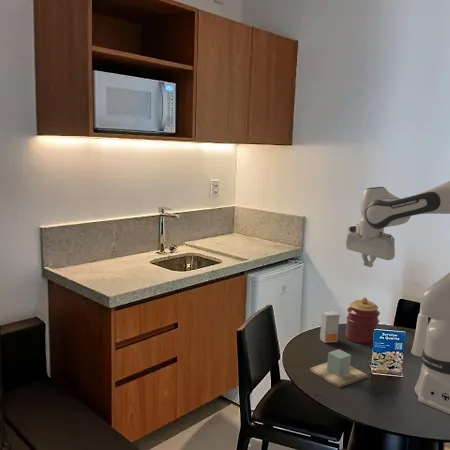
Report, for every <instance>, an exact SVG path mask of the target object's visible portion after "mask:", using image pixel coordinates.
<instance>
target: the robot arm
mask: <svg viewBox="0 0 450 450" xmlns="http://www.w3.org/2000/svg"><path fill="white" fill-rule="evenodd" d="M427 214H429V215H430V214H431V215H432V214H435V215H436V214H439V215H445V214H446V215H450V180H449V181H447V182H444V183H441V184H440V185H438V186H435V187H432V188H430V189H427V190H426V191H423V192H420V193H418V194H415V195H410V196H406V197H403V198H401V197H397V196H396V195H394V194H393V193H392V192H391V193H390V192H389V191H388V189H387V188H386V187H384V186H376V187H373V186H372V187H368V188H366V189H364V190H363V193H362V195H361V202H360V219H359V222H358V224H353V225H349V226H348V227H347V231H348V232H347V235H346V239H345V247H346V249H347V250H348V251H351V252H355V253H359V254H361V258H362V260H363V266H365V267H367V268H372V267H373V265H374V262H375V261H376V259H381V260H385V261H391V260H393V259H395V256H396V255H395V254H396V252H395V251H396V250H395V244H396V243H395V237H394V236H393V235H392V234H390V233H385V232H384V230H385V228H388V227H394V226H399V225H400V226H401V225H404V224H405V223H407V222H408V221H409V220H410V219H411V217H413V216H417V215H427ZM368 257H369V258H368ZM419 302H420V305H421V308H422V310H423V312H424V313H425V314H426V315H427V316H428V319H429V318H430V319H429V321H428V326H427V330H426V338H425V347H424V350H423V353H422V357H421V360H420V361H421V368H420V373H419V376H418V379H417V382H416V384H415V386H414V388H413V389H414V393H415V394H416V395H417V401H418V402H420V403H421V404H424V405H426V406H429V407H431V408H433V409H435V410H439V411H441V412H444V413H446V414H448V415H450V271H449V272H447V274H445V275H444V276H443V277H441V278H440V279H439V280H437V281H435V283H433V284H432V285H431V286H429V287H427V289H426V290H425V291H424V293H423V294H422V296H421V298H420V301H419Z"/></svg>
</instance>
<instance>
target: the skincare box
mask: <svg viewBox="0 0 450 450" xmlns="http://www.w3.org/2000/svg"><path fill="white" fill-rule="evenodd" d="M340 317H341V315H340V314H339V313H338V312H337V311H336V310H334V311H333V310H331V311H322V312H321V321H320V322H321V323H320V332H319V333H320V334H319V339H320V341H322V342H323V343H326V344H327V343H338V337H339V324H340Z"/></svg>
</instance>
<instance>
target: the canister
mask: <svg viewBox="0 0 450 450" xmlns="http://www.w3.org/2000/svg"><path fill="white" fill-rule="evenodd" d="M378 309H379V306H378V305H376V303H374V302H373V301H372V300H371V301H370V300H368V298H366V297H362V298H361V299H356V300H354V301H351V302H350V303H349V307H347V309H346V310H347V312H348V314H347V316H346V327H345V328H346V329H345V336H346V338H347V339H348V340H349V341H351V342H354V343H358V344H365V345H369V344H370V345H371V344H373V343H372V342H373V332H374V329H376V328H378V329H379V323H380V319H379V316H380V314H381V311H379V310H378Z"/></svg>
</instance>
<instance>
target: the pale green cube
mask: <svg viewBox="0 0 450 450" xmlns="http://www.w3.org/2000/svg"><path fill="white" fill-rule="evenodd" d="M351 361H352V354H350V353H348V352H345V351H344V350H342V349H341V348H339V349H334V350H332V351H329V352H328V353H327V361H326V362H327V370H328V371H330V372H331V373H333V374H335V375H337V376H338V377H339V376H342V375H345V374H347V373H350V366H351V363H352V362H351Z"/></svg>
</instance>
